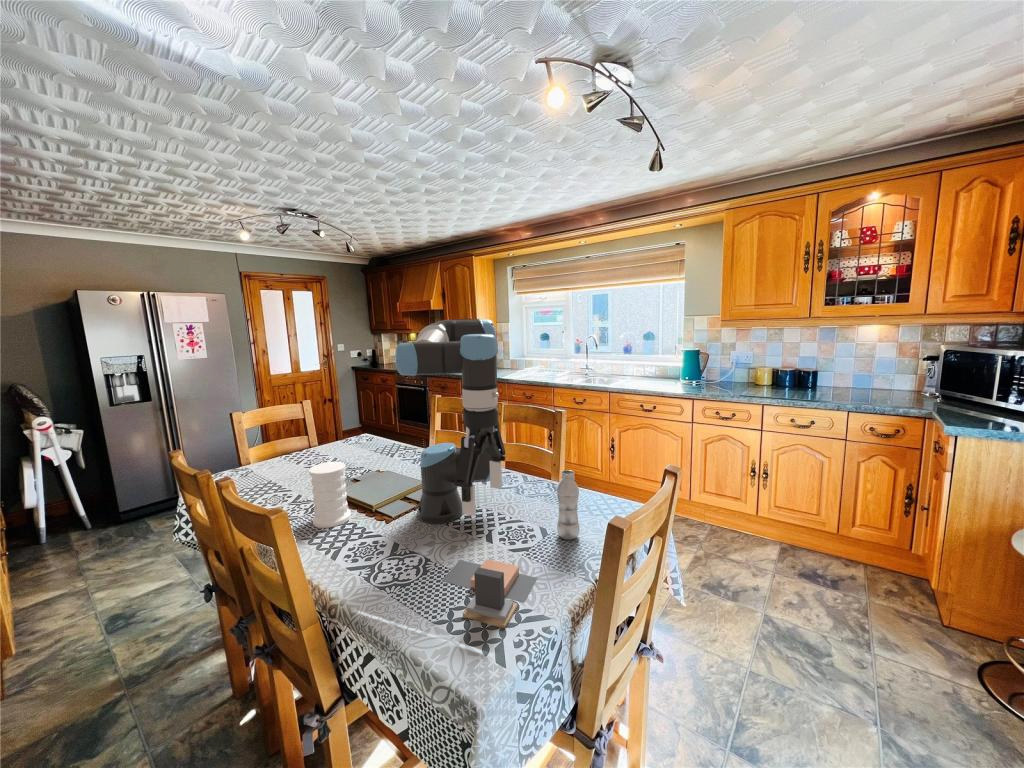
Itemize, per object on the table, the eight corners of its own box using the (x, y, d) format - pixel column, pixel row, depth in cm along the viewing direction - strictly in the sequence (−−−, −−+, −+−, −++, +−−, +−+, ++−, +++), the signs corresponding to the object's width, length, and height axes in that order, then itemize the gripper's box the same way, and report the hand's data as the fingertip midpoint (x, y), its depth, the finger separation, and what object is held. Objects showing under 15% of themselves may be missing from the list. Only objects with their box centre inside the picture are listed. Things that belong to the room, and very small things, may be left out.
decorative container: (338, 508, 141) (334, 459, 138) (358, 516, 134) (353, 465, 132) (306, 521, 132) (300, 469, 129) (325, 531, 125) (319, 476, 122)
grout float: (466, 611, 87) (465, 575, 86) (476, 596, 92) (475, 562, 91) (505, 621, 84) (504, 584, 83) (513, 605, 89) (512, 570, 88)
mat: (441, 582, 99) (440, 580, 99) (460, 561, 108) (460, 559, 108) (524, 604, 91) (524, 602, 91) (537, 579, 99) (537, 577, 99)
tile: (470, 579, 96) (504, 588, 92) (486, 558, 104) (519, 566, 101) (470, 587, 96) (505, 596, 93) (487, 566, 104) (519, 574, 101)
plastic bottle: (574, 544, 115) (574, 478, 112) (553, 538, 118) (552, 473, 115) (583, 534, 120) (583, 470, 117) (562, 529, 124) (562, 466, 120)
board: (462, 618, 87) (462, 613, 87) (477, 597, 93) (477, 593, 93) (505, 630, 83) (505, 625, 83) (517, 608, 90) (517, 603, 89)
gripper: (468, 423, 73) (472, 531, 76) (517, 396, 95) (519, 480, 99) (433, 420, 76) (438, 524, 79) (489, 394, 98) (491, 476, 102)
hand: (483, 500), depth 89 cm, fingers open, 13 cm apart
